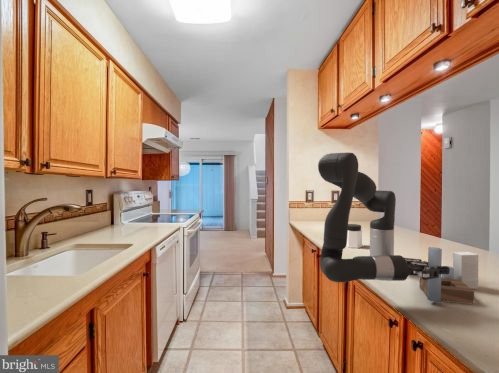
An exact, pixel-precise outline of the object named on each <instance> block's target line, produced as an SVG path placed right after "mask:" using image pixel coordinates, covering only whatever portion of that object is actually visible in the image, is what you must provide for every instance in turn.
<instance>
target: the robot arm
mask: <svg viewBox="0 0 499 373" xmlns="http://www.w3.org/2000/svg"><path fill="white" fill-rule="evenodd" d="M317 168H318V169H317V170H318V172H319V175H320V176H321V178H322V180H324V181H325V182H327V183H329V184H332V185H334V186H337V187H338V188H339V189H340V194H339V195H338V197H337V199H336V201H335V203H334V204H333V205H332V207H331V208H330V210H329V212H328V213H327V215H326V218H325V220H324V228H323V244H322V247H321V252H320V257H319V268H320V271H321V273H322V274H323V275H324V276H325V277H326V278H327V279H328V280H329V281H331V282H335V283H347V282H355V281H358V280H365V281H367V280H369V281H370V280H371V281H372V280H373V281H381V282H382V281H385V282H386V281H387V282H388V281H391V282H392V281H394V282H397V281H399V282H401V281H402V282H404V281H406V280H407V279H408V277H409V276H411V277H420V276H422V279H423V280H429V279H434V278H439V274H441V275H442V274H449V273H450V268H449V267H447V266H448V265H441V266H428V260H422V259H421V258H412V257H409V258H408V257H404V256H402V255H401V254H400V255H398V254H397V255H395V219H396V218H395V217H396V216H395V214H396V203H397V201H396V194H395V192H394V191H392V190H377V186H376V183H375V181H374V180H373V179H372V178H371V177H370V176H369V175H367V173H363V172H360V171H359V161H358V157H357V156H356V154H355V153H353V152H334V153H333V152H331V153H327V154H325V155H323V156H321V158H319V161H318V163H317ZM354 199H356V200H358V201H359V202H361V203H362V205H364V207H365V208H366V209H367V210H369V211H371V212H374V213H384V214H383V216H382V217H381V218H377V219H373V220H371V221H370V222H369V255H358V256H354V257H352V258H343V251H344V249H346V247H347V246H346V244H347V234H348V224H349V220H350V219H349V218H350V214H351V213H350V212H351V209H352V203H353V200H354Z"/></svg>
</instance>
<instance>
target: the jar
mask: <svg viewBox="0 0 499 373" xmlns="http://www.w3.org/2000/svg"><path fill="white" fill-rule="evenodd" d="M346 247H347V248H351V249H360V248H362V247H363V230H362V225H361V224H356V223H348V234H347V244H346Z"/></svg>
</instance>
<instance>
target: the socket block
mask: <svg viewBox="0 0 499 373" xmlns="http://www.w3.org/2000/svg"><path fill="white" fill-rule="evenodd" d="M418 283H419V284H418V285H419V288H420V290H421V292H422V293H423V294H424V295H425V296H426V297H428V280H423V279H422V276H419V282H418ZM448 301H450V302H449V303H457V302H458V303H460V304H469V305H474V304H475V290H473V289H471V288H469V287H468V286H467V285H466V284H465V283H463V282H462V281H461V280H459V279H447V278H442V277H441V302H448Z"/></svg>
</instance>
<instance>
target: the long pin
mask: <svg viewBox="0 0 499 373" xmlns="http://www.w3.org/2000/svg"><path fill="white" fill-rule="evenodd" d="M427 250H428V253H427V255H428V256H427V258H428V259H427V262H428V266H443V265H442V258H443V257H442V254H443V250H442V248H440V247H435V246H434V247H433V246H432V247H431V246H430V247H428V249H427ZM441 278H442V274H439V278H434V279H429V280H428V297H427V296H426V297H427V300H428V301H430V302H433V303H441V302H442V301H441Z"/></svg>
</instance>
